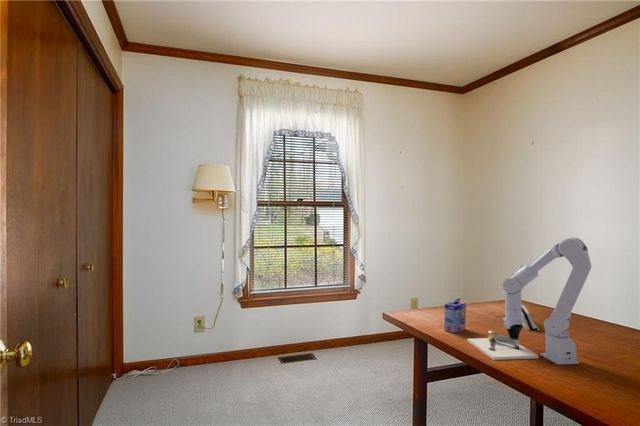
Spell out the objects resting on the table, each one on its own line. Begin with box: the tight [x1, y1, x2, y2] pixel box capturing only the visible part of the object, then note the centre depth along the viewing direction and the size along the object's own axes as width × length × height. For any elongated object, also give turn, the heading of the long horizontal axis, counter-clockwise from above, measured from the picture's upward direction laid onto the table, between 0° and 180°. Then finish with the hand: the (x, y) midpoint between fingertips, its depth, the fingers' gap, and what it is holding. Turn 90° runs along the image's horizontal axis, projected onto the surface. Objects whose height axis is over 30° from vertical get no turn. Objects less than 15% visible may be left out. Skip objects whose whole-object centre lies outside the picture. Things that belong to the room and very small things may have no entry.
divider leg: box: [487, 329, 520, 348], centre depth 146 cm, size 12×3×3 cm, turn 34°
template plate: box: [467, 337, 539, 361], centre depth 143 cm, size 20×17×2 cm
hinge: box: [521, 304, 540, 331], centre depth 175 cm, size 17×5×10 cm, turn 163°
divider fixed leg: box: [490, 341, 494, 350], centre depth 144 cm, size 10×1×1 cm, turn 154°
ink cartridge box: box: [444, 297, 467, 334], centre depth 168 cm, size 10×6×14 cm, turn 130°
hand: (514, 343), depth 144 cm, fingers closed
